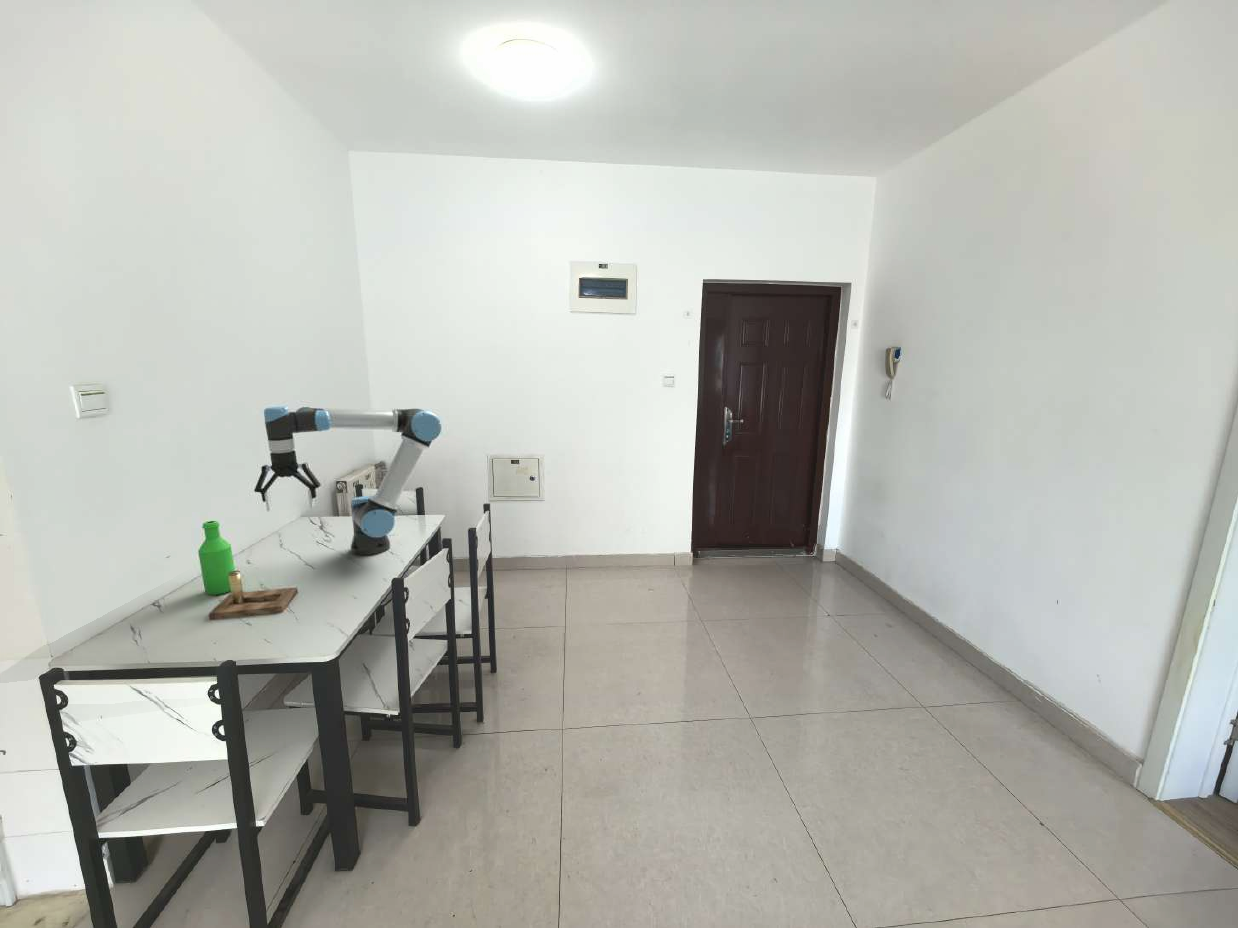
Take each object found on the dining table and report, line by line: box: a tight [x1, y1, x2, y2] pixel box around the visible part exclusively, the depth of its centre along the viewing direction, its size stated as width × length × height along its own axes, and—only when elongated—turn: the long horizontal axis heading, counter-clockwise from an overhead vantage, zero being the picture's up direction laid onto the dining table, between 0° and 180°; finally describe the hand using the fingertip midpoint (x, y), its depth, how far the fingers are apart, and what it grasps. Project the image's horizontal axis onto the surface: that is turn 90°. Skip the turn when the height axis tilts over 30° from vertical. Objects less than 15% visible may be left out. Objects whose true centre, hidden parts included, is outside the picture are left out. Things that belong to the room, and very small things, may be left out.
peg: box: [228, 570, 245, 605], centre depth 163 cm, size 3×3×12 cm
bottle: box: [198, 520, 236, 596], centre depth 173 cm, size 9×9×25 cm
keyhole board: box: [208, 586, 299, 621], centre depth 165 cm, size 20×14×2 cm
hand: (291, 508), depth 182 cm, fingers open, 13 cm apart
